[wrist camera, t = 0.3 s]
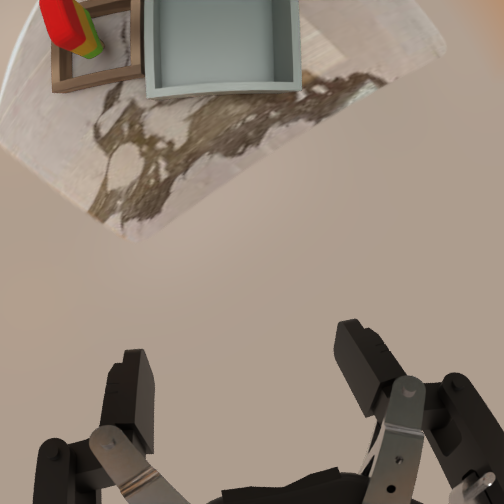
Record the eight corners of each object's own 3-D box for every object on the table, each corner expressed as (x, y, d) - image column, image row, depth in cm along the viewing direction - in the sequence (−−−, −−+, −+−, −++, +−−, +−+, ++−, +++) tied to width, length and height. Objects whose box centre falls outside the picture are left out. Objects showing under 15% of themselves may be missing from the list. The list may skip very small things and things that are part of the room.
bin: (154, -8, 25) (145, -35, 18) (275, -12, 27) (295, -36, 20) (156, 100, 31) (146, 98, 24) (279, 93, 33) (301, 90, 26)
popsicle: (34, -5, 12) (55, -19, 12) (88, 31, 25) (103, 23, 25) (50, 47, 15) (73, 32, 15) (102, 67, 28) (117, 60, 28)
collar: (65, 18, 24) (52, 10, 20) (145, 0, 25) (140, -11, 22) (65, 93, 28) (52, 92, 25) (146, 77, 30) (140, 73, 26)
